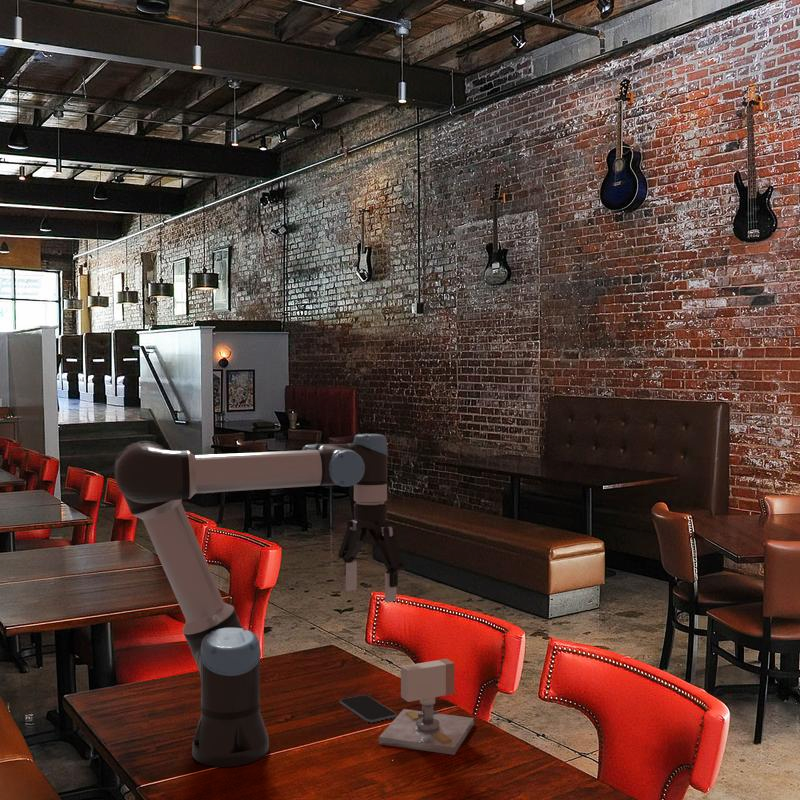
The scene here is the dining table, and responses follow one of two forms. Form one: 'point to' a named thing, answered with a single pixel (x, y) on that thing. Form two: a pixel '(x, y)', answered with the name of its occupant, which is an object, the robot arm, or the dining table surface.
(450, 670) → the grey rectangular block
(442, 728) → the socket
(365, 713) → the smartphone
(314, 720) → the dining table surface
